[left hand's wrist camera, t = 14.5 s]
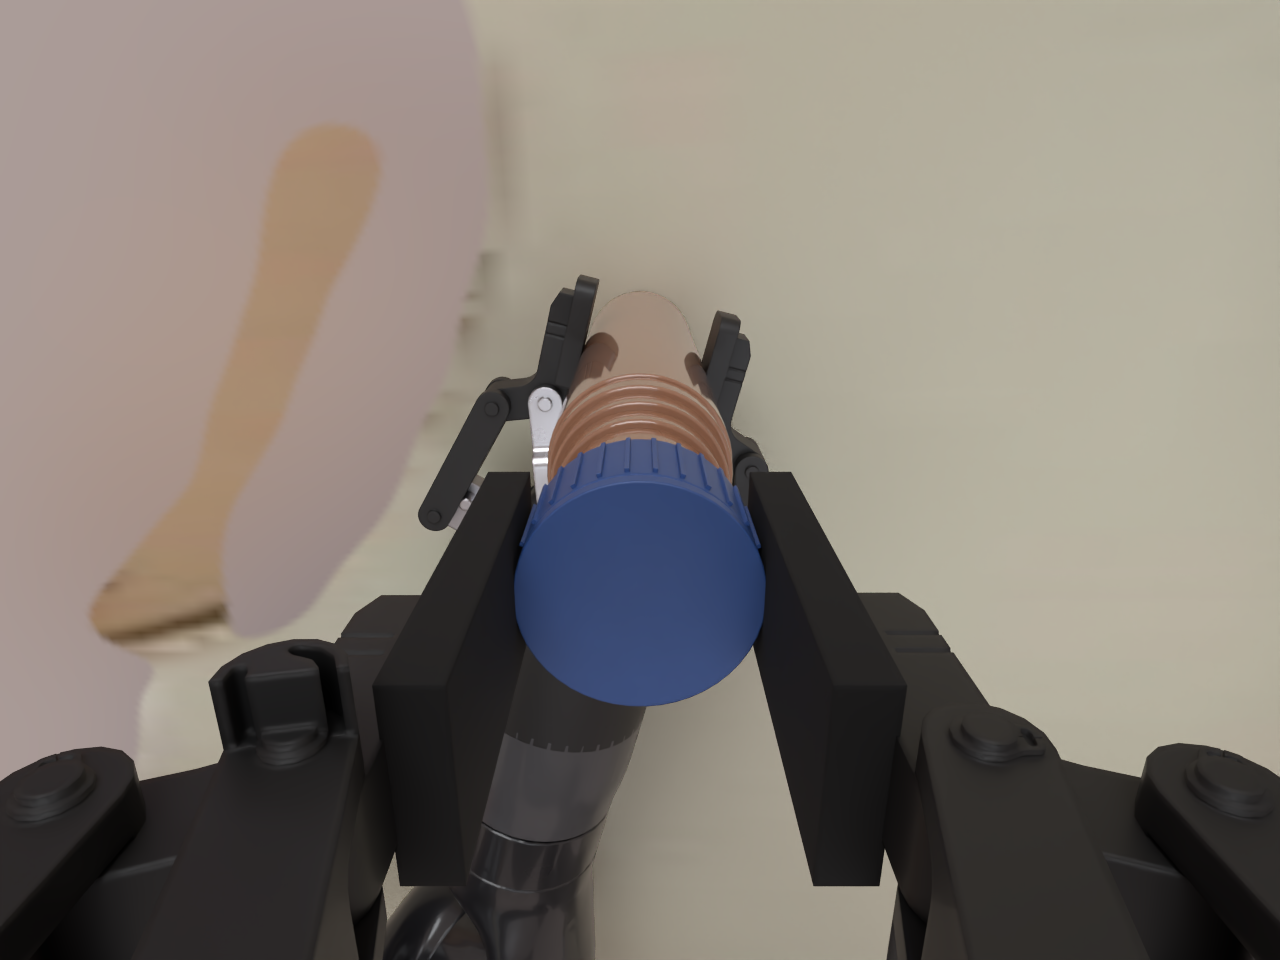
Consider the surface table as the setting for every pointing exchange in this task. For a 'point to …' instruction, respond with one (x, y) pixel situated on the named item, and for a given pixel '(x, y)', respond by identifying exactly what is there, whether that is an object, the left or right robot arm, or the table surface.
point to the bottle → (640, 386)
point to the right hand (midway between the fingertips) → (658, 299)
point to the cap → (639, 574)
